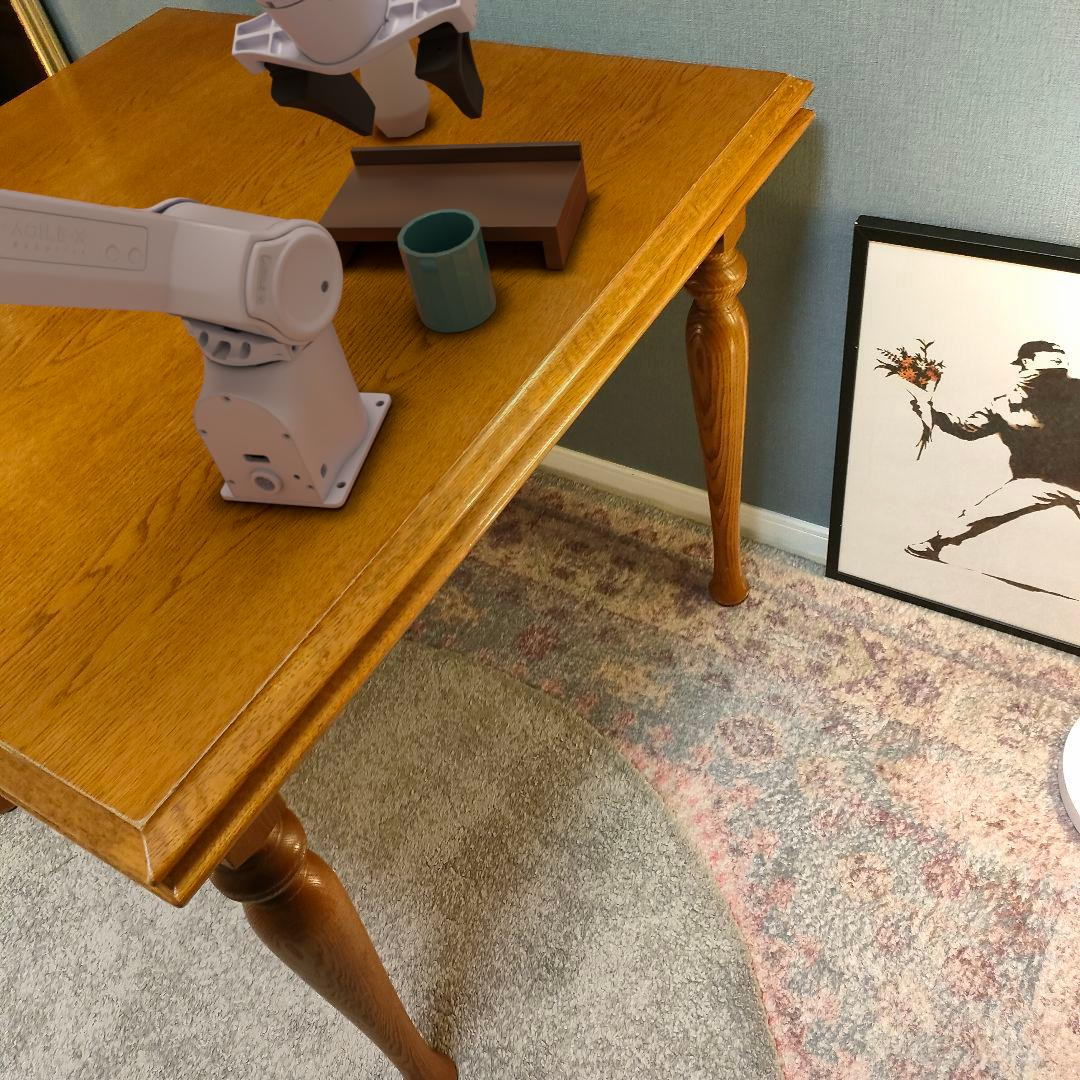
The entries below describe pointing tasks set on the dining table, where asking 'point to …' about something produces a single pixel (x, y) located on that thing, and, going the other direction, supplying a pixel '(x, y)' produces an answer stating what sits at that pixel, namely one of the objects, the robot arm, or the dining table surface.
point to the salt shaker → (396, 92)
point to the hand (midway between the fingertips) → (422, 113)
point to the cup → (448, 270)
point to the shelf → (464, 192)
